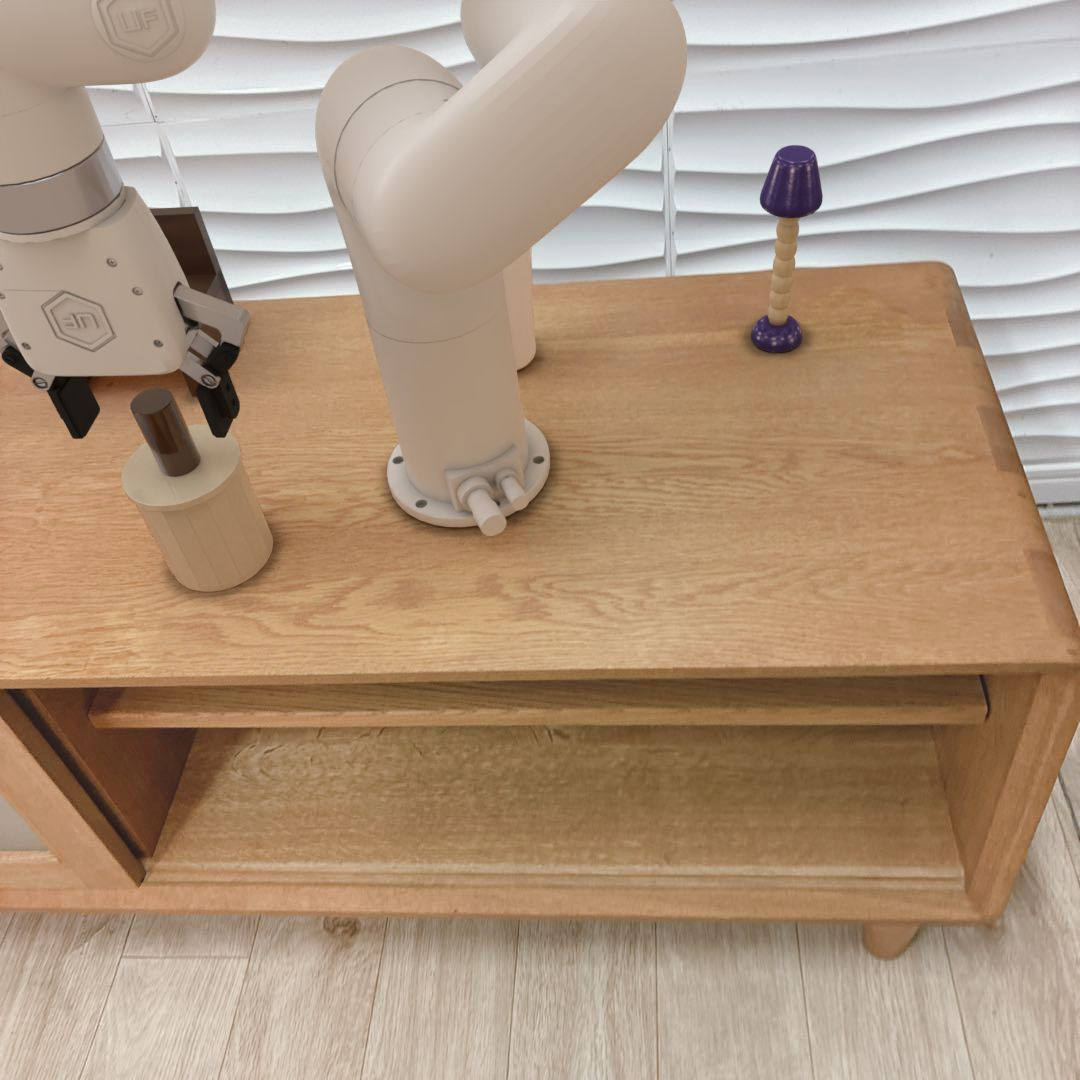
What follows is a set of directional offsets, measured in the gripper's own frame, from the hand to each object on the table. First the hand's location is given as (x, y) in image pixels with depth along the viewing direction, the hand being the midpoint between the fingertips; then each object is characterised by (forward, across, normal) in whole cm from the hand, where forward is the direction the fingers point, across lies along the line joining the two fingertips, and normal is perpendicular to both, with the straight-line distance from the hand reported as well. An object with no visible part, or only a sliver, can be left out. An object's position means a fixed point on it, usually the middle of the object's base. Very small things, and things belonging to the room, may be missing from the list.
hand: (156, 424), depth 71 cm
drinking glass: (+12, +19, +23) cm, 33 cm away
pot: (+13, 0, 0) cm, 13 cm away
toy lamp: (+12, +42, +25) cm, 51 cm away
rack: (+13, -13, +24) cm, 30 cm away
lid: (+4, 0, 0) cm, 4 cm away
